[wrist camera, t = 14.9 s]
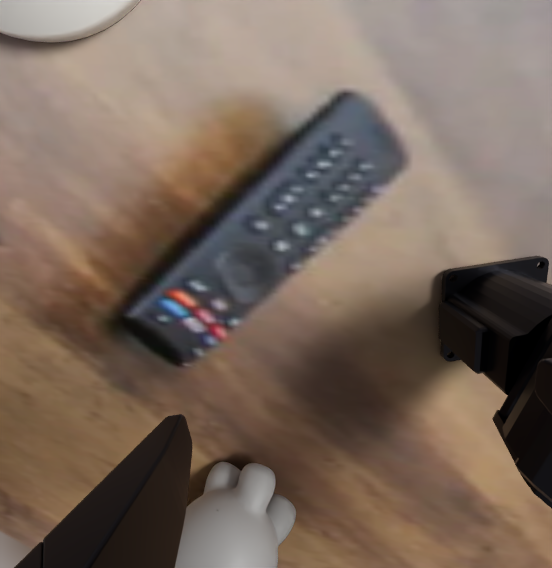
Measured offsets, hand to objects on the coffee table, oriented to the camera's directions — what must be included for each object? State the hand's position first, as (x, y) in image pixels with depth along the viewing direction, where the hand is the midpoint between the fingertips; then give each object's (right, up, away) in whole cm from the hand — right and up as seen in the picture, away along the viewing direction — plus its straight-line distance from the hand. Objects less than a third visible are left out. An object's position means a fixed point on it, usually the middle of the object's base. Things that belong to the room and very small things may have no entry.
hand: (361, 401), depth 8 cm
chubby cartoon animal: (-7, -13, +18) cm, 24 cm away
